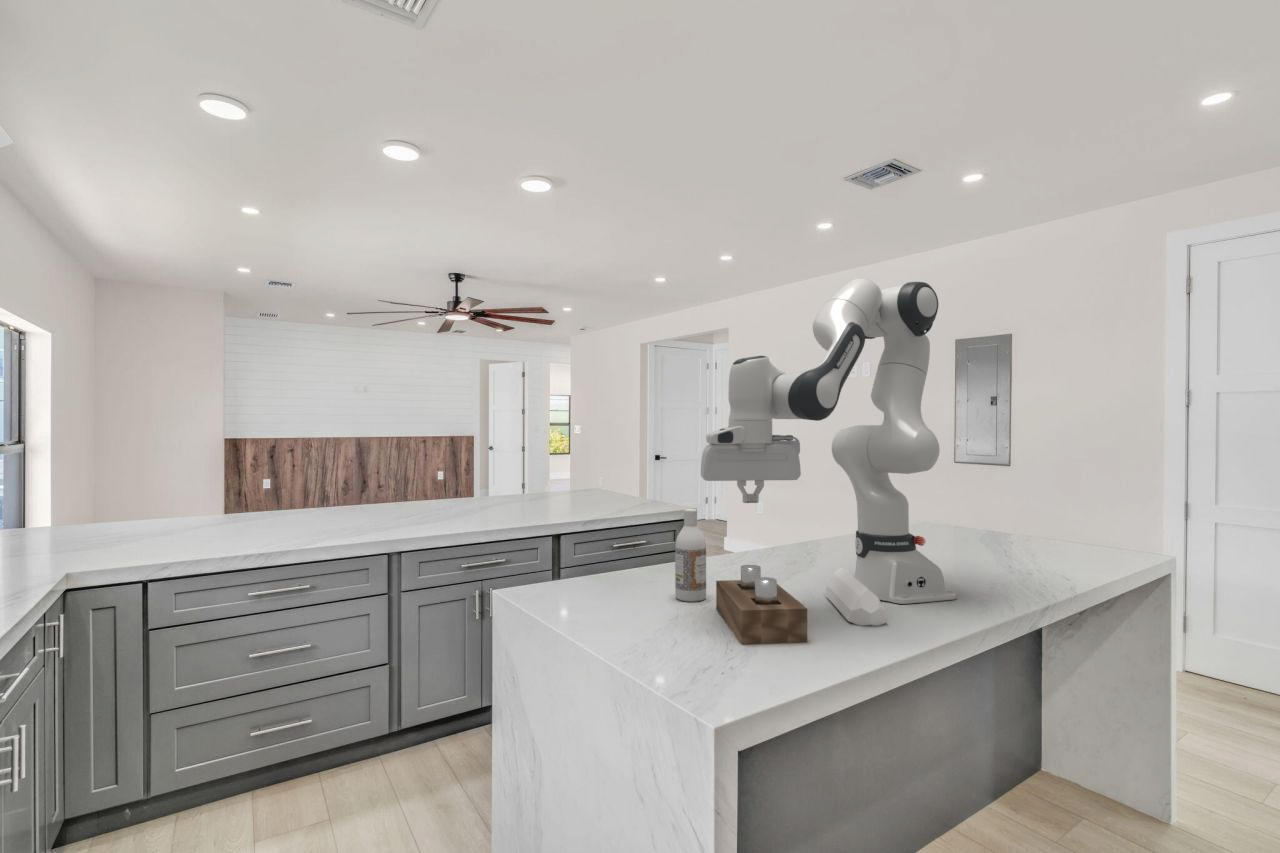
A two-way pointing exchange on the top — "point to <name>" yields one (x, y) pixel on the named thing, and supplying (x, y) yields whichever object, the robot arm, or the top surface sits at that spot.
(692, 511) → the bath foam
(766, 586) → the peg
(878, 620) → the crystal
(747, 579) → the peg
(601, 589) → the top surface
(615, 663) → the top surface
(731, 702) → the top surface
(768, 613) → the brown wooden block
